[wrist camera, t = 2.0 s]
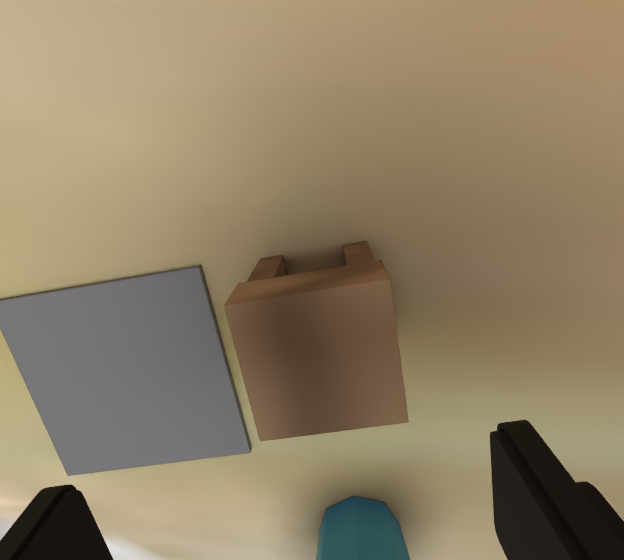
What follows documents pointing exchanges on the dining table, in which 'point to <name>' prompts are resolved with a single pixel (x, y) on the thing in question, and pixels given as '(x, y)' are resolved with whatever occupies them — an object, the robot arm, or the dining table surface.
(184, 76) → the dining table surface
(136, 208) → the dining table surface
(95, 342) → the mat
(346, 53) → the dining table surface
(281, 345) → the brown box with pegs
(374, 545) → the cup
